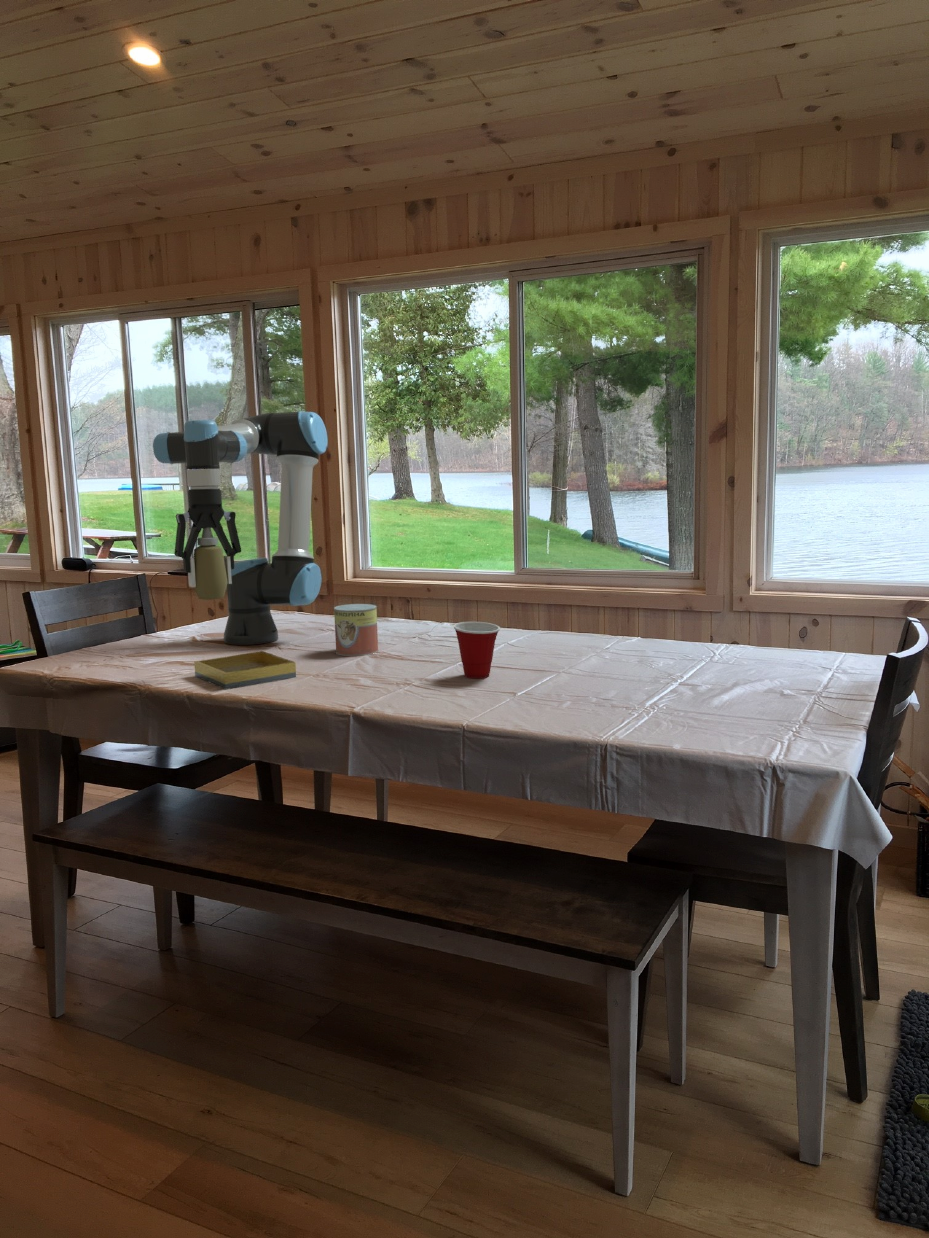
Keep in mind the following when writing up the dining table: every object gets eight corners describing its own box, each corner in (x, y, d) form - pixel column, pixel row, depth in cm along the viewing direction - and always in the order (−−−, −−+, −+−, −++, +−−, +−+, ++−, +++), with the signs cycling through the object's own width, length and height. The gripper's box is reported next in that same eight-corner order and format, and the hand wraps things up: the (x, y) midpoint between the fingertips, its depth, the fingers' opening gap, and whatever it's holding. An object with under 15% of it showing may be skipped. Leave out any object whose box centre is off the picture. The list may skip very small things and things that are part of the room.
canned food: (327, 654, 244) (325, 609, 242) (348, 646, 254) (347, 603, 252) (366, 657, 239) (364, 611, 237) (385, 648, 250) (384, 604, 248)
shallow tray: (263, 665, 232) (262, 651, 232) (296, 677, 219) (295, 662, 218) (195, 676, 222) (194, 661, 221) (225, 689, 208) (224, 673, 207)
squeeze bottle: (218, 601, 216) (213, 523, 213) (186, 600, 218) (181, 523, 215) (234, 596, 224) (230, 521, 221) (204, 596, 226) (199, 521, 223)
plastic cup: (485, 683, 208) (484, 630, 206) (445, 678, 214) (444, 626, 212) (509, 673, 217) (509, 623, 215) (470, 668, 223) (469, 619, 221)
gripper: (240, 486, 226) (246, 579, 229) (154, 489, 214) (161, 587, 217) (252, 486, 219) (258, 582, 223) (164, 489, 208) (171, 590, 211)
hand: (210, 584), depth 220 cm, fingers closed on squeeze bottle, 8 cm apart
